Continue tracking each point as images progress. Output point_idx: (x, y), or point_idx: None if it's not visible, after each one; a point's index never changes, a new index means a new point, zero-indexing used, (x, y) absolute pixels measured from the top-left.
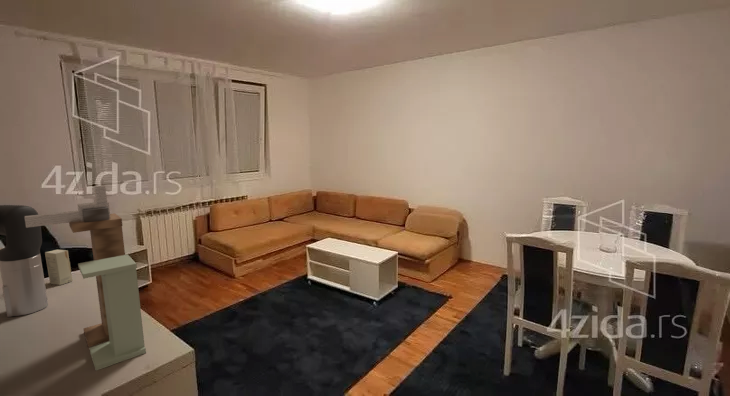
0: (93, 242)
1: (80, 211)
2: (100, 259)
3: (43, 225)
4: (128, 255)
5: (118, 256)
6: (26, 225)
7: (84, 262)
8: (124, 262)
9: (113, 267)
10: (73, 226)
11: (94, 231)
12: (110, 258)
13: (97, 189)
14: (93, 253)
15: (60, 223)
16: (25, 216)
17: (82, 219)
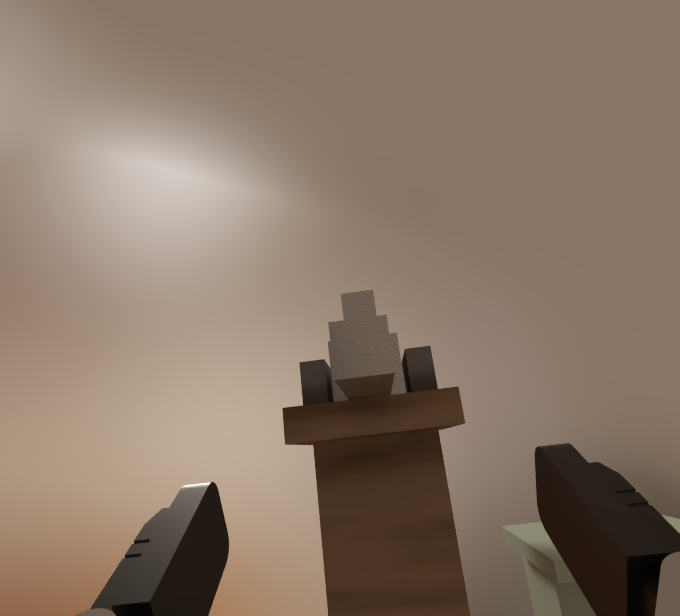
0: (396, 503)
1: (399, 355)
2: (527, 542)
3: (392, 382)
4: (519, 524)
5: (514, 531)
6: (391, 361)
7: (548, 554)
8: None
9: (677, 522)
10: (459, 395)
11: (438, 438)
12: (531, 535)
13: (373, 300)
14: (349, 577)
15: (391, 390)
16: (345, 321)
17: (404, 388)
